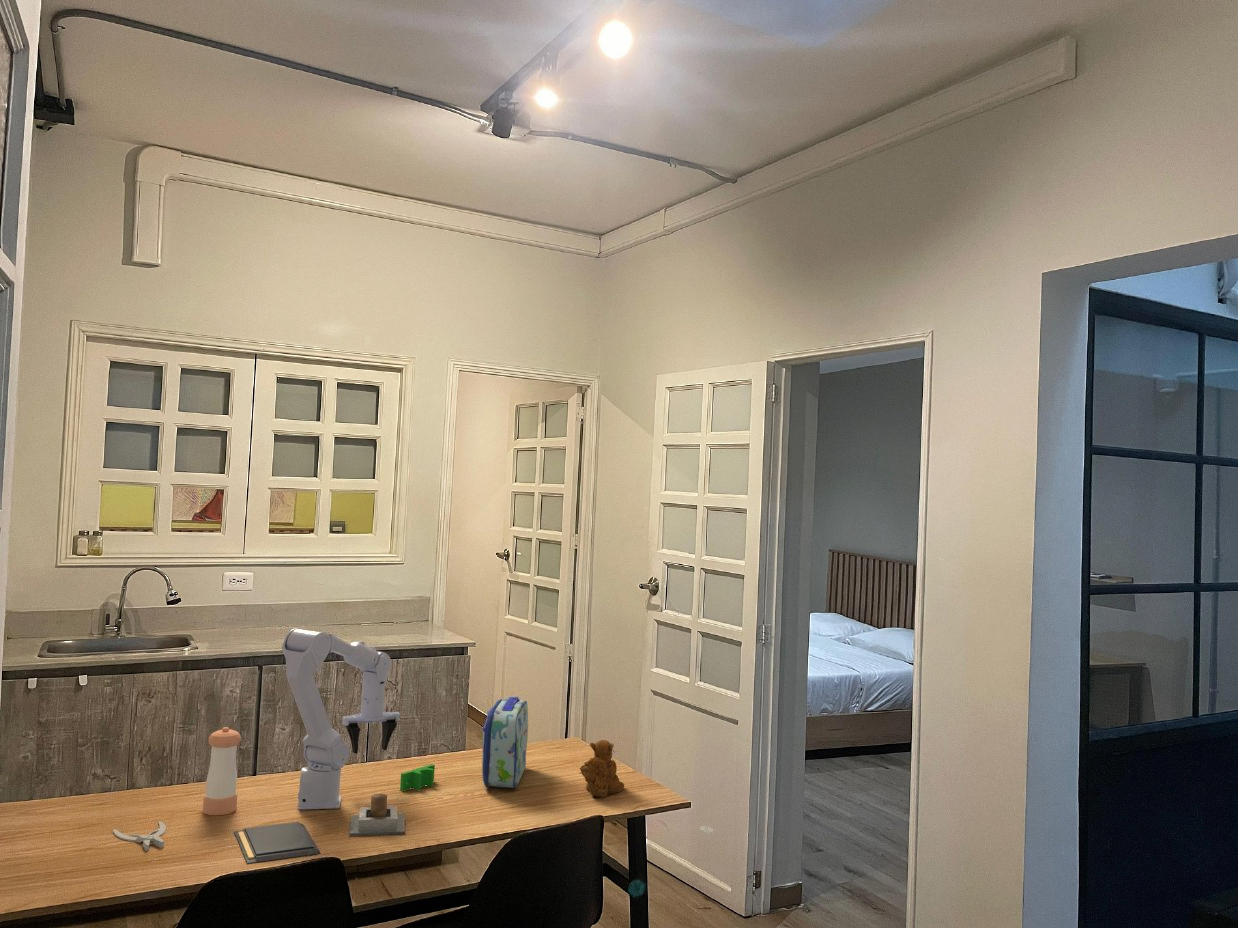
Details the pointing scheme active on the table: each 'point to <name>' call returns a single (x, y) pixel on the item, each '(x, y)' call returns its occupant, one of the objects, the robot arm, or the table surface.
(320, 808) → the robot arm
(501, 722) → the lunch box
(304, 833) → the grey flat slab
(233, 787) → the pepper shaker
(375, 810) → the cylinder
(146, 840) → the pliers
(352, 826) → the mount
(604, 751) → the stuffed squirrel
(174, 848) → the table surface
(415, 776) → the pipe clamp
